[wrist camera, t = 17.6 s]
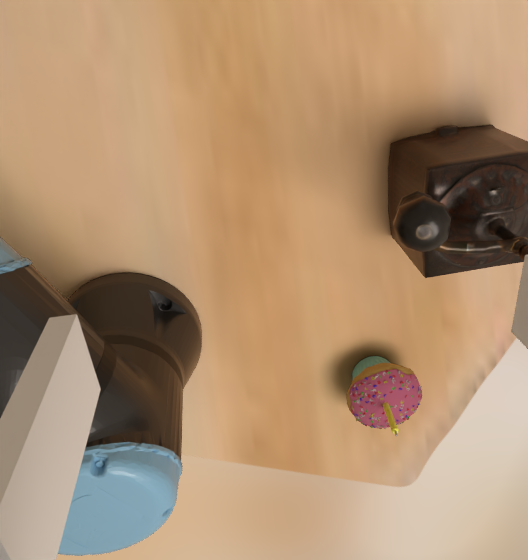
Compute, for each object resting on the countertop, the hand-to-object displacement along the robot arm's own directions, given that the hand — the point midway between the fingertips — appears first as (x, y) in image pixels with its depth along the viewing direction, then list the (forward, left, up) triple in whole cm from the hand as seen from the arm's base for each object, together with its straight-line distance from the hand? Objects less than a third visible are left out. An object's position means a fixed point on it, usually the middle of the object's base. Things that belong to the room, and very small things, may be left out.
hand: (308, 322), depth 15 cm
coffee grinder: (+17, -9, -35) cm, 40 cm away
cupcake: (+13, -32, -35) cm, 49 cm away
